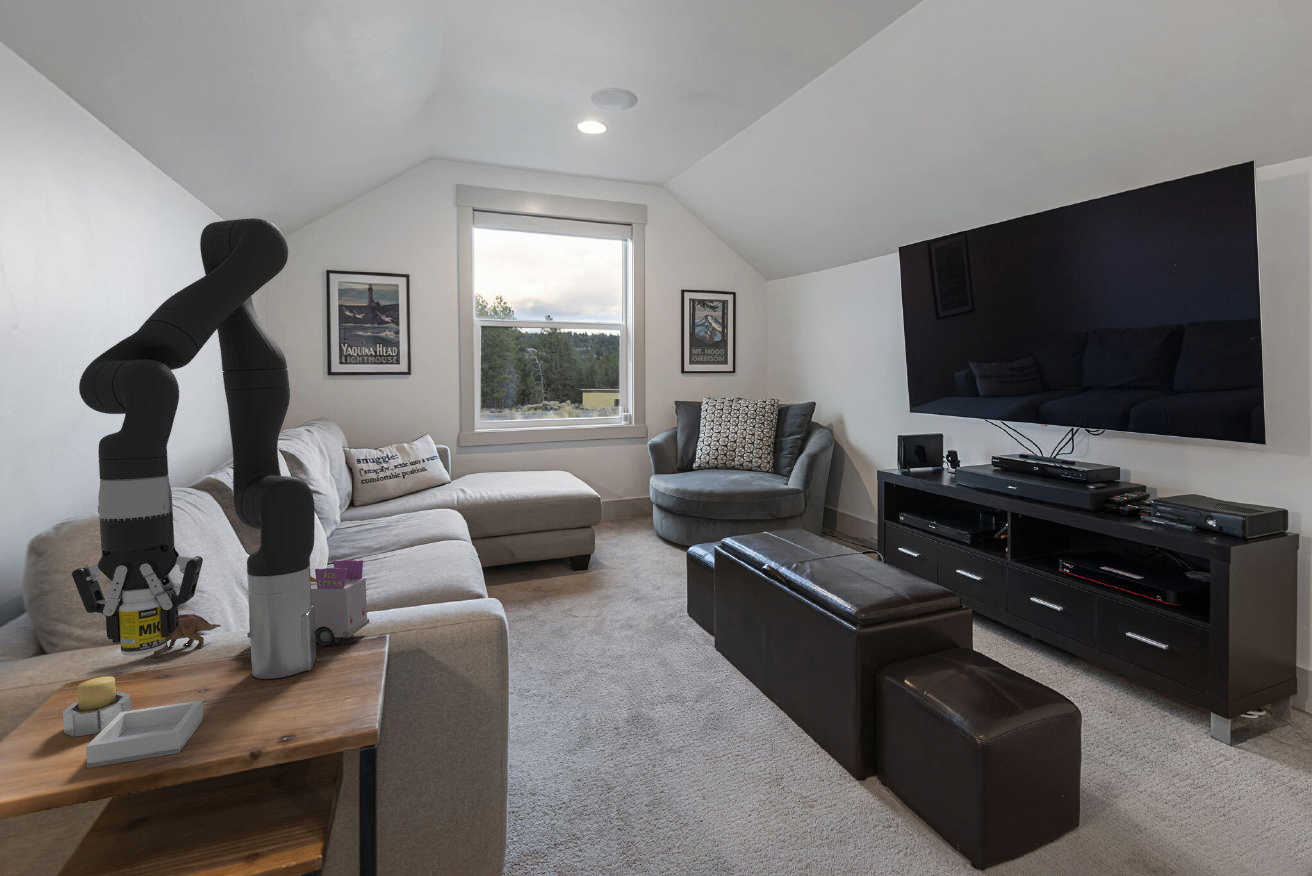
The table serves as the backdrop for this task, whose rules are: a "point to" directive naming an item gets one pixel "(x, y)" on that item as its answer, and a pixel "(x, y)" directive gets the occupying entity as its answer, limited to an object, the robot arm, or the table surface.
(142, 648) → the supplement bottle
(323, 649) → the table surface
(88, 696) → the yellow rounded lump
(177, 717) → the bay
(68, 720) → the socket
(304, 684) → the table surface
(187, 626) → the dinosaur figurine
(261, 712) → the table surface
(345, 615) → the toy vehicle
